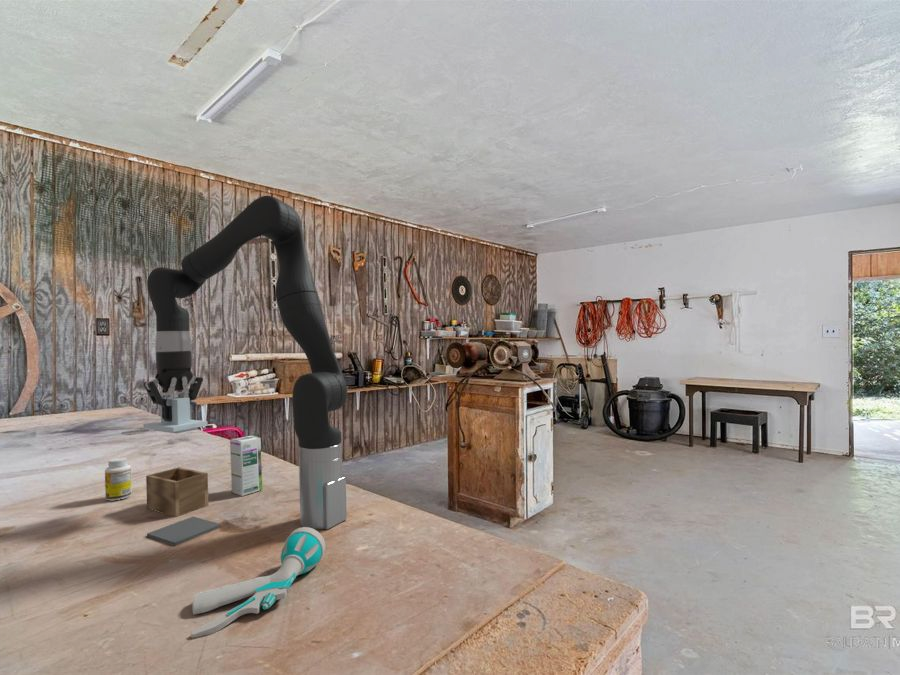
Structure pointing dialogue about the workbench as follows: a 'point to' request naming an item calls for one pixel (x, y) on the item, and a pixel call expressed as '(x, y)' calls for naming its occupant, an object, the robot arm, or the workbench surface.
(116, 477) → the supplement bottle
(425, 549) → the workbench surface
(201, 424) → the lid
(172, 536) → the mat
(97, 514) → the workbench surface
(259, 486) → the syrup box
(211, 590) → the garden hose nozzle
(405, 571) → the workbench surface
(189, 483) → the crate
